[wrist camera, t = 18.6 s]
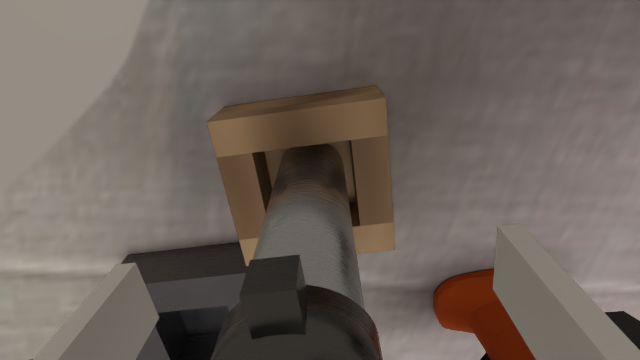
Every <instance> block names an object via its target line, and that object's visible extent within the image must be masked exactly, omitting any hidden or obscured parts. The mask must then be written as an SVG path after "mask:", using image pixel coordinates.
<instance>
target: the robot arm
mask: <svg viewBox="0 0 640 360" xmlns="http://www.w3.org/2000/svg"><path fill="white" fill-rule="evenodd" d="M493 290H494V292H495V293H496V295H497V297H498V298H499V300H500V301H501V303H502V305H503V306H504V308H505V310H506V311H507V313H508V315H509V316H510V318H511V319H512V321H513V323H514V324H515V326H516V328H517V329H518V331H519V333H520V334H521V336H522V338H523V339H524V341H525V342H526V344H527V346H528V347H529V349H530V351H531V352H532V354H533V356H534V357H535V359H536V360H640V321H639V320H637V319H636V318H634V317H632V316H631V315H629V314H627V313H626V312H624V311H618V312H606V313H604V312H603V311H602V310H601V309H600V308H599V306H598V305H597V304H596V303H595V302H594V301H593V300H592V299H591V298H590V297H589V296H588V295H587V294H586V293H585V292H584V291H583V289H582V288H581V287H580V286H579V285H578V284H577V283H576V282H575V281H574V280H573V279H572V278H571V277H570V276H569V275H568V274H567V272H566V271H565V270H564V269H563V268H562V267H561V266H560V265H559V264H558V263H557V262H556V261H555V260H554V259H553V258H552V257H551V256H550V254H549V253H548V252H547V251H546V250H545V249H544V248H543V247H542V246H541V245H540V244H539V243H538V242H537V241H536V240H535V239H534V237H533V236H532V235H531V234H530V233H529V232H528V231H527V230H526V229H525V228H524V227H523V226H522V225H521V224H515V225H505V226H498V229H497V241H496V254H495V266H494V278H493ZM158 319H159V316H158V313H157V311H156V309H155V306H154V304H153V302H152V299H151V297H150V295H149V292H148V290H147V288H146V285H145V283H144V281H143V278H142V276H141V274H140V271H139V269H138V267H137V264H136V263H127V264H117V265H116V266H115V267H114V268H113V269H112V270H111V271H110V272H109V274H108V275H107V276H106V277H105V278H104V279H103V280H102V282H101V283H100V284H99V285H98V286H97V287H96V288H95V290H94V291H93V292H92V293H91V294H90V295H89V296H88V298H87V299H86V300H85V301H84V302H83V303H82V304H81V306H80V307H79V308H78V309H77V310H76V311H75V312H74V314H73V315H72V316H71V317H70V318H69V319H68V320H67V322H66V323H65V324H64V325H63V326H62V327H61V328H60V330H59V331H58V332H57V333H56V334H55V335H54V336H53V338H52V339H51V340H50V341H49V342H48V343H47V344H46V346H45V347H44V348H43V349H42V350H41V351H40V352H39V354H38V355H37V356H36V357H35V358H34V359H32V360H135V359H136V358H137V356H138V354H139V352H140V351H141V349H142V347H143V345H144V344H145V342H146V340H147V338H148V337H149V335H150V333H151V331H152V330H153V328H154V326H155V324H156V323H157V321H158Z"/></svg>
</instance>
